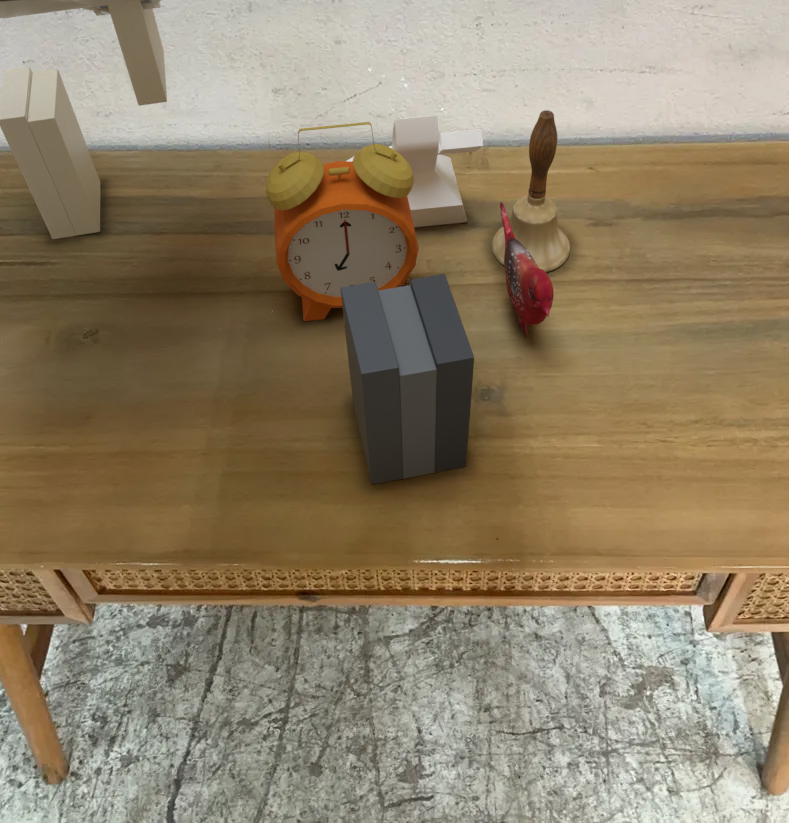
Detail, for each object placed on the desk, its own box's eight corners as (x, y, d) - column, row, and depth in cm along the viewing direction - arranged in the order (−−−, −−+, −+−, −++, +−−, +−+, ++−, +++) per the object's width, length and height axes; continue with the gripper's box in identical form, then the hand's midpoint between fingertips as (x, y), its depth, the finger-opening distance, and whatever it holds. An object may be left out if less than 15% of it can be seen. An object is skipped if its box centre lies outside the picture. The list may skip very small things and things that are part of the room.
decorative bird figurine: (523, 375, 78) (534, 300, 70) (483, 249, 89) (489, 171, 81) (553, 371, 79) (568, 296, 71) (509, 246, 89) (518, 168, 81)
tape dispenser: (346, 192, 95) (336, 82, 84) (467, 180, 96) (472, 69, 85) (352, 241, 90) (343, 131, 79) (480, 228, 91) (488, 117, 80)
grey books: (371, 485, 72) (361, 374, 60) (353, 404, 77) (340, 287, 65) (466, 466, 72) (474, 353, 60) (441, 388, 78) (444, 269, 66)
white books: (52, 239, 92) (-4, 119, 80) (55, 189, 97) (3, 69, 85) (100, 232, 92) (52, 112, 80) (100, 182, 98) (55, 62, 86)
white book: (138, 106, 76) (89, -55, 65) (137, 54, 81) (91, -102, 70) (167, 102, 76) (122, -59, 65) (163, 50, 82) (122, -106, 70)
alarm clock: (288, 327, 83) (255, 158, 67) (285, 284, 87) (253, 114, 71) (419, 312, 84) (419, 141, 68) (411, 270, 87) (408, 98, 71)
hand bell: (475, 250, 89) (484, 118, 76) (523, 211, 92) (539, 79, 80) (538, 286, 85) (558, 154, 73) (585, 245, 89) (612, 112, 76)
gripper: (228, -135, 58) (240, -52, 72) (-74, -100, 56) (-2, -22, 70) (245, -40, 59) (254, 24, 73) (-51, -2, 57) (15, 56, 71)
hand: (127, 2), depth 71 cm, fingers closed on white book, 2 cm apart
